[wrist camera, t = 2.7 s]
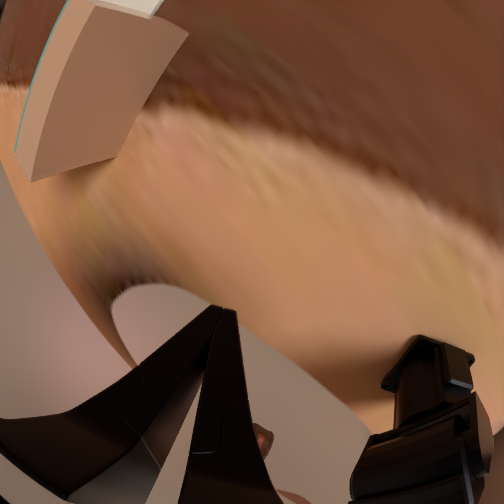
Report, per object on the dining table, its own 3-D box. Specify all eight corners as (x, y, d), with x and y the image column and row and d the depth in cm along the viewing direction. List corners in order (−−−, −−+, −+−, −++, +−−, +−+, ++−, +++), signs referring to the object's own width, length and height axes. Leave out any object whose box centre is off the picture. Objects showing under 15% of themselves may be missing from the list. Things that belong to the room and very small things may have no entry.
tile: (189, 33, 16) (95, 5, 8) (117, 156, 22) (30, 182, 15) (160, 16, 16) (68, -7, 8) (95, 134, 22) (11, 154, 15)
